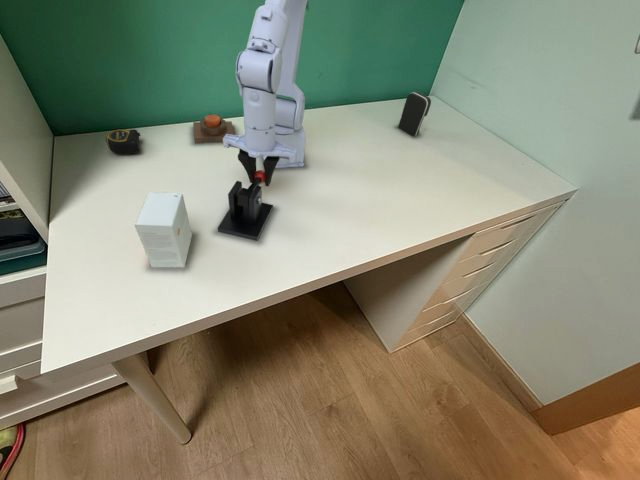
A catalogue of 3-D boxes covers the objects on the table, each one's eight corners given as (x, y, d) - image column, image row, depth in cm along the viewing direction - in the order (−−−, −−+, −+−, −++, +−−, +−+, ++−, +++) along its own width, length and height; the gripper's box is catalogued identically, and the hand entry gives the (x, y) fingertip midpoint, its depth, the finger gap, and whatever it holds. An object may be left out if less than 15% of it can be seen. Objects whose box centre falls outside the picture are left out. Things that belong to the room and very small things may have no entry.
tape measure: (141, 156, 77) (137, 142, 74) (108, 158, 75) (102, 144, 72) (142, 141, 81) (138, 127, 79) (111, 142, 79) (106, 128, 77)
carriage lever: (256, 178, 72) (256, 166, 70) (268, 181, 72) (269, 169, 70) (235, 205, 62) (235, 193, 61) (249, 209, 62) (250, 196, 61)
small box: (162, 234, 62) (147, 190, 54) (193, 235, 62) (183, 192, 55) (150, 268, 56) (132, 224, 48) (184, 268, 57) (172, 225, 49)
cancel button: (219, 120, 87) (219, 114, 86) (220, 127, 84) (220, 121, 83) (205, 121, 86) (204, 114, 85) (206, 127, 83) (205, 121, 82)
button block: (232, 127, 91) (231, 115, 89) (235, 142, 86) (234, 129, 84) (194, 128, 89) (192, 115, 86) (195, 143, 83) (193, 131, 81)
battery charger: (421, 134, 102) (435, 98, 94) (414, 137, 100) (427, 100, 92) (404, 124, 105) (415, 88, 97) (396, 127, 103) (408, 91, 95)
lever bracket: (237, 200, 71) (234, 170, 65) (273, 209, 70) (273, 179, 64) (218, 232, 64) (213, 201, 58) (257, 241, 63) (256, 211, 58)
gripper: (213, 124, 58) (220, 185, 68) (291, 141, 57) (288, 200, 67) (228, 107, 63) (233, 167, 73) (301, 123, 62) (296, 181, 72)
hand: (260, 182), depth 70 cm, fingers closed on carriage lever, 3 cm apart
